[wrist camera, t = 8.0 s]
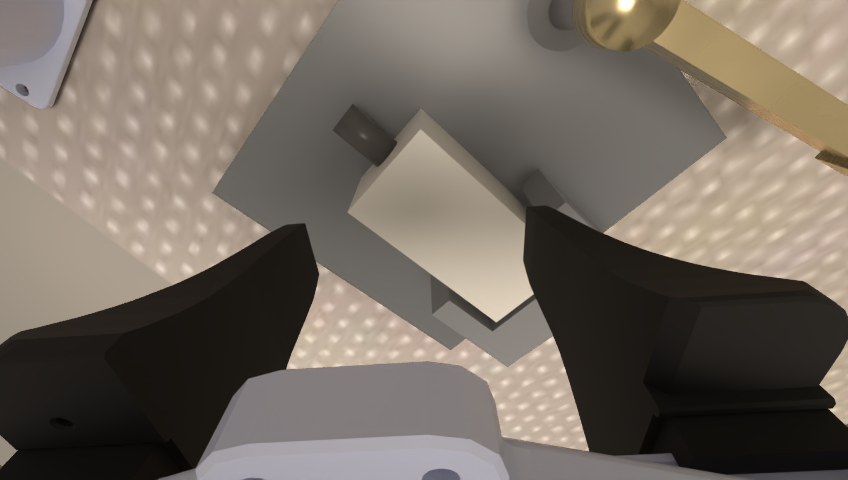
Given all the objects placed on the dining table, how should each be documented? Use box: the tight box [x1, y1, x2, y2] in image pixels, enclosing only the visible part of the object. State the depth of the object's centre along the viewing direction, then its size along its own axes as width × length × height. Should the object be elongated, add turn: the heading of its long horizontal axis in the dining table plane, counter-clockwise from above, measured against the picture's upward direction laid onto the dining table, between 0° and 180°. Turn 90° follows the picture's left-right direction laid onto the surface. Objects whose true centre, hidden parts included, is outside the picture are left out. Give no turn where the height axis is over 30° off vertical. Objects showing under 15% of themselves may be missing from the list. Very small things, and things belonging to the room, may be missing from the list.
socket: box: [212, 0, 727, 367], centre depth 17 cm, size 17×19×5 cm
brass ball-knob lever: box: [573, 0, 848, 176], centre depth 12 cm, size 2×13×1 cm, turn 66°
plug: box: [333, 104, 534, 322], centre depth 17 cm, size 11×4×4 cm, turn 48°
